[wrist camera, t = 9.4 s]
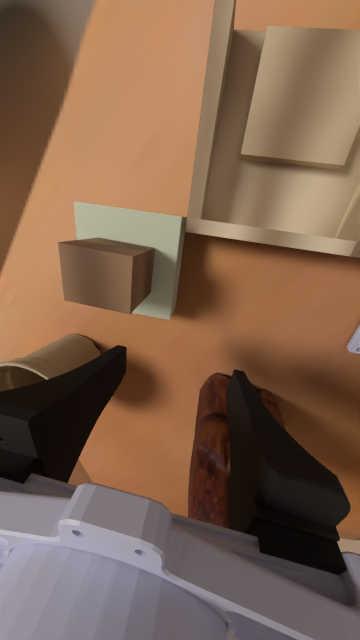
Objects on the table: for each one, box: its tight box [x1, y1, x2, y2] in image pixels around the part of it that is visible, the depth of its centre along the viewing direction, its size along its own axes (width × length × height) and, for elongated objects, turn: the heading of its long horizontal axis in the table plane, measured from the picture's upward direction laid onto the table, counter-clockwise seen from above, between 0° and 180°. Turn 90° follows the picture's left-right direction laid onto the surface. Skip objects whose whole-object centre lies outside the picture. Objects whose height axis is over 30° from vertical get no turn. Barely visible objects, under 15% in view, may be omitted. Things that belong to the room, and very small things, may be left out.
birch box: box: [185, 0, 360, 258], centre depth 14 cm, size 13×12×4 cm
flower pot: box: [0, 334, 101, 392], centre depth 24 cm, size 9×9×9 cm
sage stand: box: [74, 201, 187, 320], centre depth 20 cm, size 9×9×3 cm
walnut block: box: [58, 237, 155, 314], centre depth 16 cm, size 5×4×5 cm
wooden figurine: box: [188, 373, 285, 529], centre depth 18 cm, size 12×6×18 cm, turn 65°
